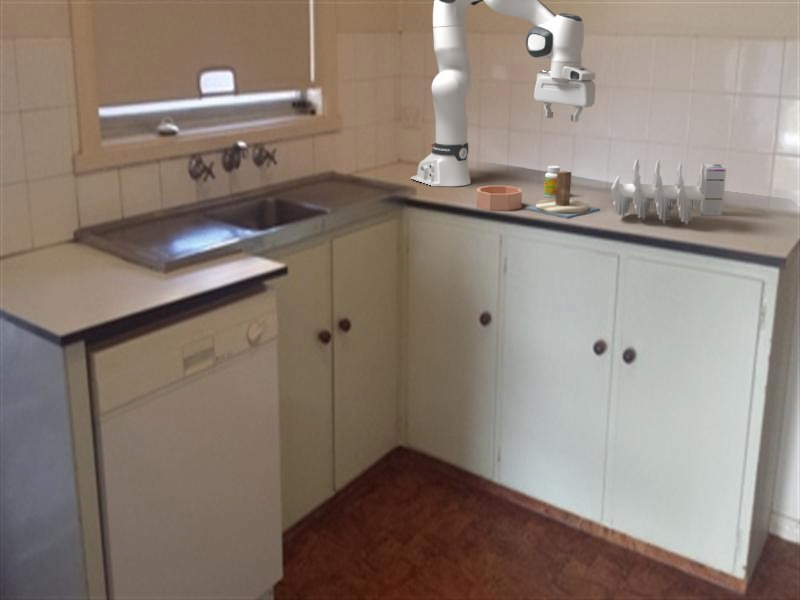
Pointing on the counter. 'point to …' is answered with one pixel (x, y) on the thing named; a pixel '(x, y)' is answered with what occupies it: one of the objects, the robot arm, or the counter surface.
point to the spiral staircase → (658, 195)
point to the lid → (562, 198)
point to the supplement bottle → (551, 181)
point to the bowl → (499, 198)
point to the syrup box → (713, 189)
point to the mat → (591, 209)
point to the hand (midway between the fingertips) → (561, 119)
